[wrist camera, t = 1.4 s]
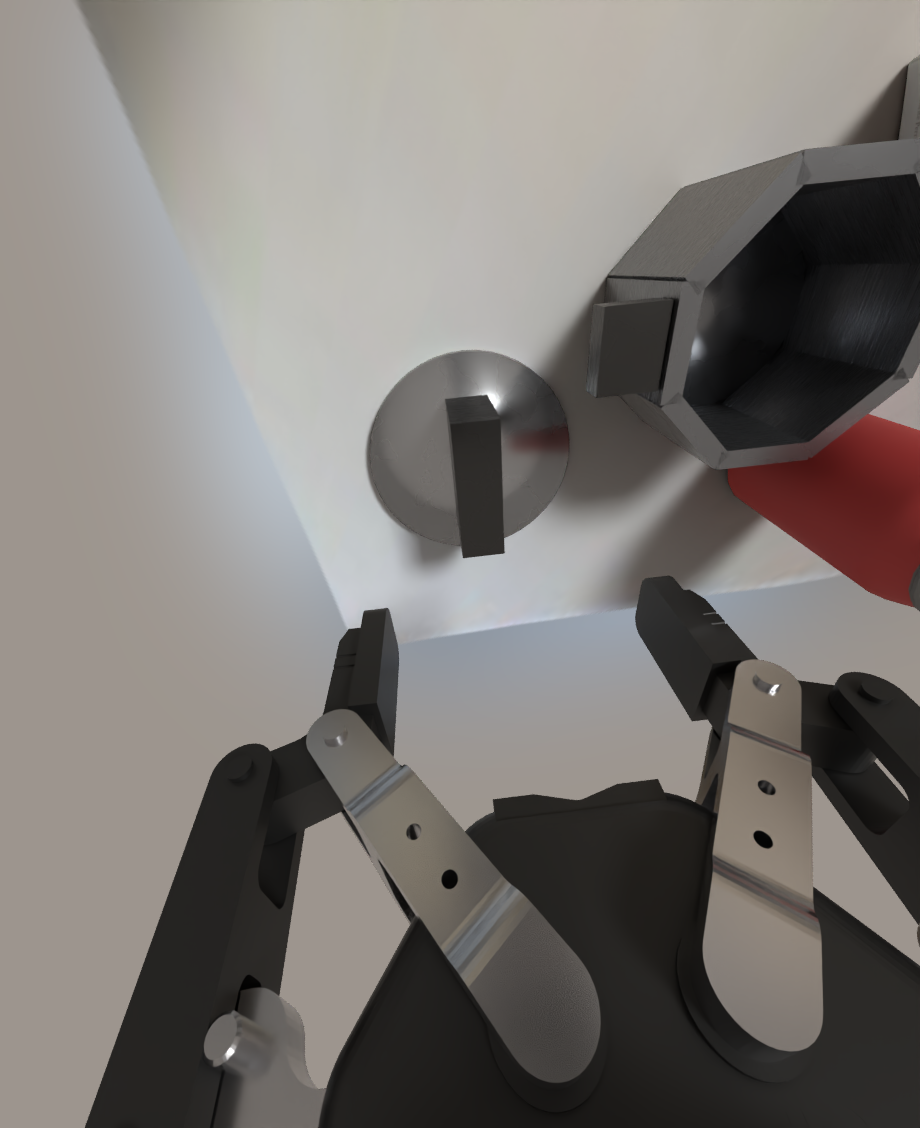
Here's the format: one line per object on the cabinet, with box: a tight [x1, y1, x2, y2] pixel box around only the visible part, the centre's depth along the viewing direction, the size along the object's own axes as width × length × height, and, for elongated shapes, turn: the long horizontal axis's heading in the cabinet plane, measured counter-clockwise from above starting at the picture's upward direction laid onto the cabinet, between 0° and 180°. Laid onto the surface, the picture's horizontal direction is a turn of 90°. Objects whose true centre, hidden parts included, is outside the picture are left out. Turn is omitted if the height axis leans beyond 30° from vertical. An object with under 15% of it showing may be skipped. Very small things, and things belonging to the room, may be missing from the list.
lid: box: [370, 350, 569, 558], centre depth 22 cm, size 11×11×5 cm
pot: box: [586, 138, 920, 470], centre depth 18 cm, size 10×15×7 cm, turn 95°
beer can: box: [728, 414, 920, 611], centre depth 21 cm, size 7×7×12 cm
